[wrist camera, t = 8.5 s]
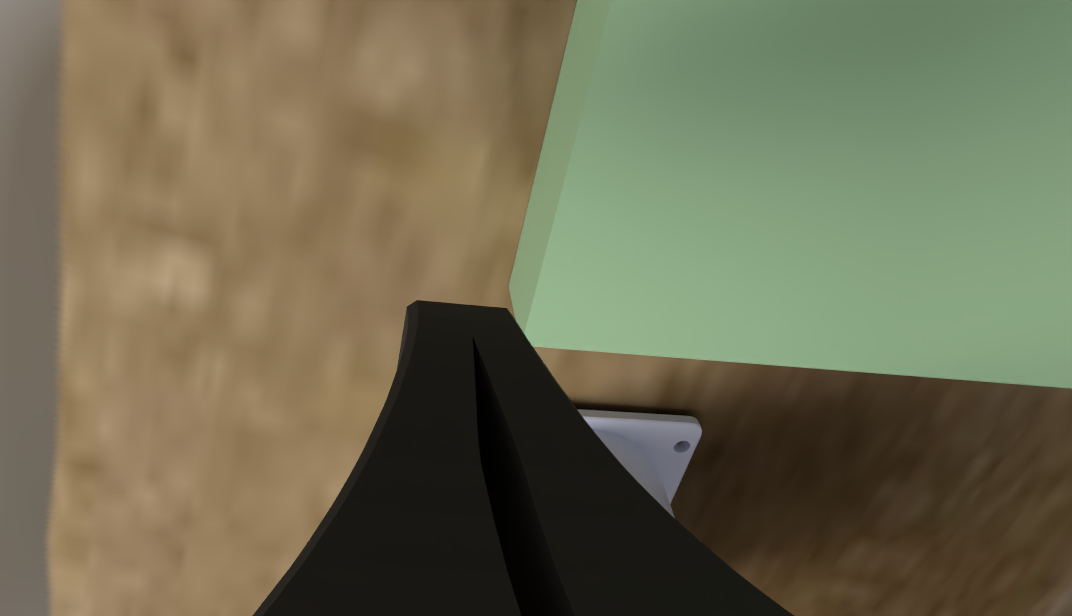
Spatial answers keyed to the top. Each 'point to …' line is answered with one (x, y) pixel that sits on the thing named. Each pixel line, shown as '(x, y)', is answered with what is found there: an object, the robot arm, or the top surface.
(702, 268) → the putting mat
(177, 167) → the top surface
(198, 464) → the top surface
